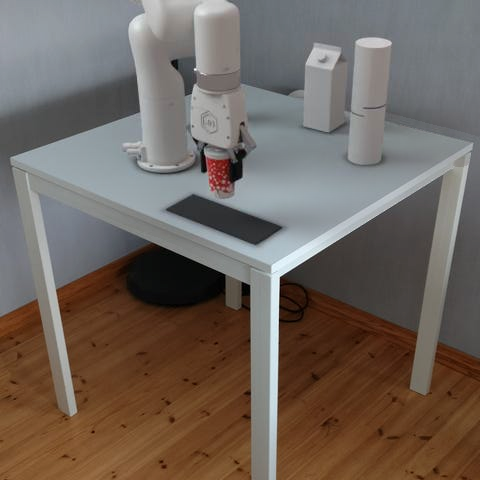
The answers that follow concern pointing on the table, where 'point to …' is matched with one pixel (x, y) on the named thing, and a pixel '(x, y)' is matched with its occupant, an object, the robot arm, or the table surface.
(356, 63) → the cylindrical container
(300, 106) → the table surface
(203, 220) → the mat
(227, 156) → the beverage cup
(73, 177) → the table surface
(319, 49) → the milk carton
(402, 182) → the table surface
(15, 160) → the table surface
